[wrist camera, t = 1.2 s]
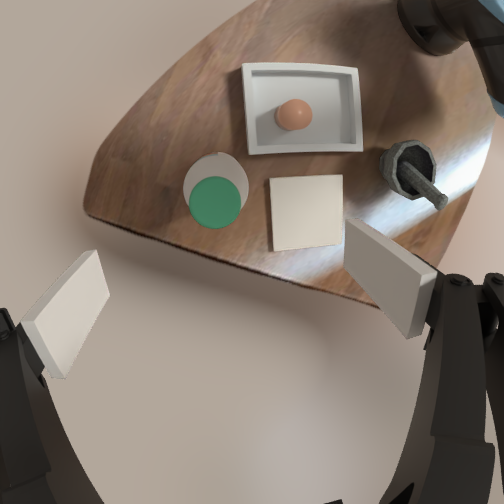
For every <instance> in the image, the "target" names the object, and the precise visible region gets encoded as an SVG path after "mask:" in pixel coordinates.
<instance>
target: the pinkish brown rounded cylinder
mask: <svg viewBox="0 0 504 504" xmlns="http://www.w3.org/2000/svg"><path fill="white" fill-rule="evenodd" d="M312 116H313V114H312V110H311V108H310V106H309V105H308V104H307V103H306V102H305V101H303V100H300V99H291V100H289V101H287V102H285V103H283V104H282V105H280V106H279V107H278V108H277V109H276V111H275V113H274V119H275V122H276V124H277V125H278V126H279V127H280V128H281V129H283V130H286V131H292V130H300V129H304V128H306V127H307V126H308V125H309V124H310V123H311V121H312Z"/></svg>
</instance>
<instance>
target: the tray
mask: <svg viewBox="0 0 504 504" xmlns="http://www.w3.org/2000/svg"><path fill="white" fill-rule="evenodd" d="M241 73H242V85H243V98H244V110H245V123H246V136H247V149H248V154H249V155H254V154H269V153H288V152H318V151H360V152H363V133H362V114H361V99H360V88H359V77H358V68H353V67H344V66H335V65H323V64H308V63H242V66H241ZM291 99H300V100H303V101H305V102H306V103H307V104H308V105H309V106H310V108H311V110H312V114H313V116H312V121H311V123H310V124H309V125H308V126H307V127H306V128H304V129H300V130H292V131H286V130H283V129H281V128H280V127H279V126H278V125H277V124H276V122H275V119H274V113H275V111H276V109H277V108H278V107H279V106H280V105H282V104H283V103H285V102H287V101H289V100H291Z"/></svg>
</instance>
